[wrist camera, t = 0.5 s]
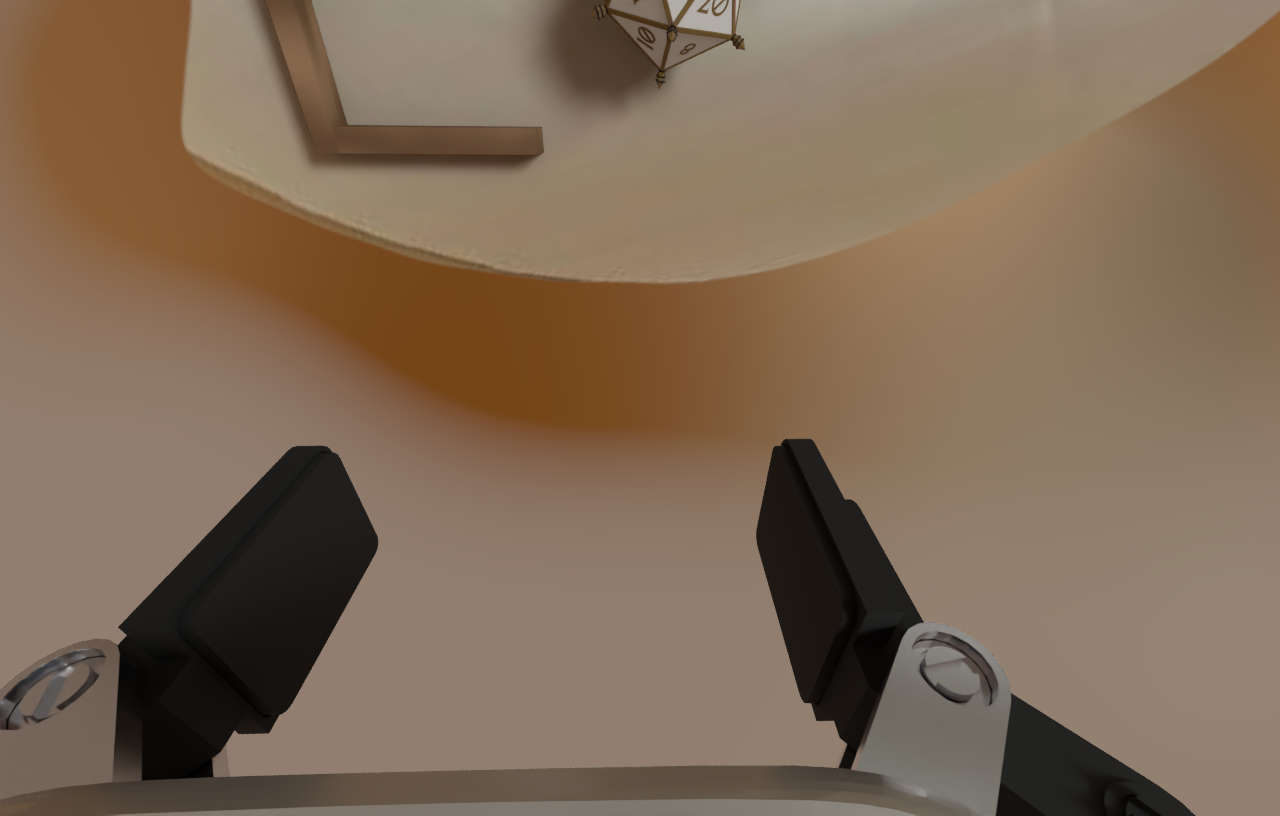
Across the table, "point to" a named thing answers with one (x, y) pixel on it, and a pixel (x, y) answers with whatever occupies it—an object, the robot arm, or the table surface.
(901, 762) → the robot arm
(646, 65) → the table surface
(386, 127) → the frame
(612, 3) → the game die
